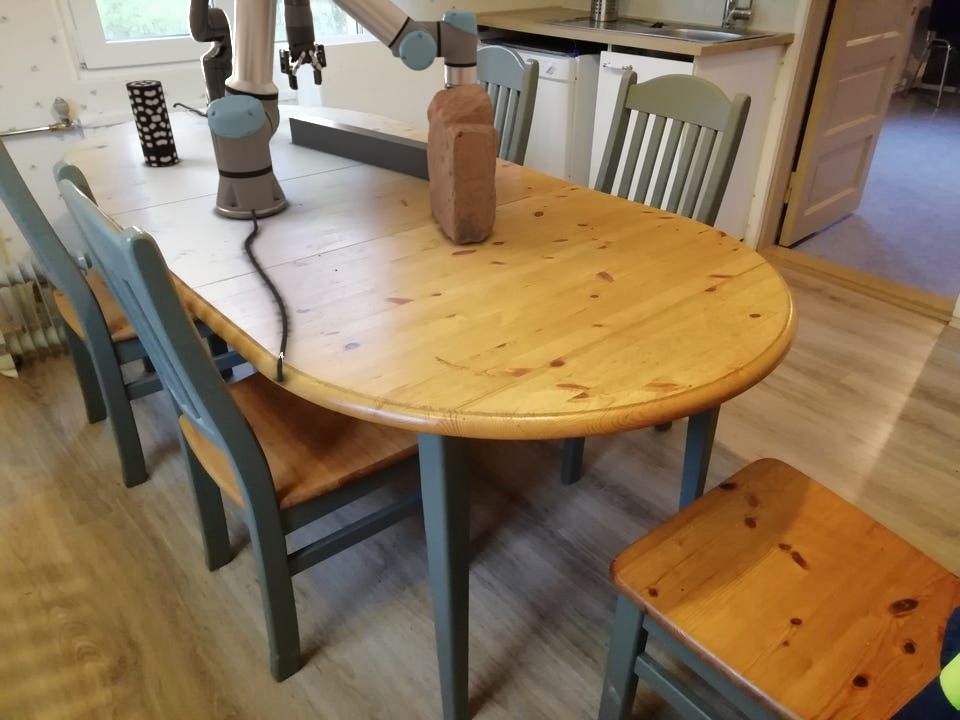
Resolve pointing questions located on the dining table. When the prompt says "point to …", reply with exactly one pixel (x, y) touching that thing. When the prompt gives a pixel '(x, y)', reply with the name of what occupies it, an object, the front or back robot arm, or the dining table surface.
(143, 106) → the black white spotted cylinder
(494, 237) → the dining table surface
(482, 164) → the stone
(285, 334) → the front robot arm
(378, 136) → the post
